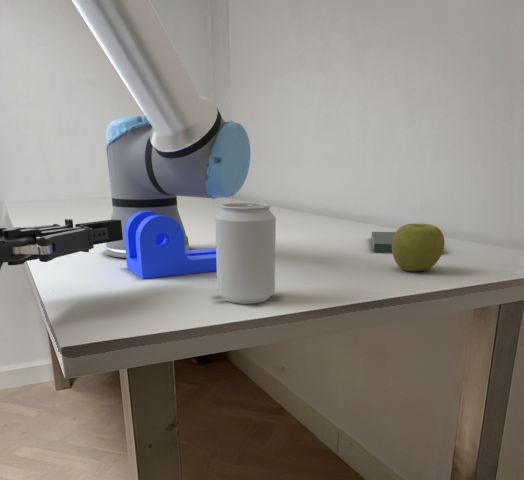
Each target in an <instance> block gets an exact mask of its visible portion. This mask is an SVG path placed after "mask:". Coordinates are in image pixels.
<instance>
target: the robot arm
mask: <svg viewBox="0 0 524 480" xmlns="http://www.w3.org/2000/svg"><path fill="white" fill-rule="evenodd" d="M71 1H72V3H73V5H74V6H75V8H76V10H77V11H78V12H79V14H80V16H81V17H82V19H83V20H84V23H86V25H87V27H88V28H89V29H90V31H91V33H92V35H93V37H94V38H95V39H96V41H97V42H98V44H99V46H100V47H101V49H102V50H103V52H104V53H105V55H106V57H107V58H108V59H109V61H110V63H111V65H112V66H113V68H114V69H115V71H116V73H117V74H118V75H119V78H120V79H121V80H122V82H123V84H124V85H125V86H126V88H127V89H128V91H129V93H130V94H131V96H132V97H133V99H134V101H135V102H136V104H137V106H138V107H139V109H140V110H141V112H142V113H143V115H136V116H127V117H123V118H119V119H115V120H113V121H111V122H110V123H109V124H108V125H107V127H106V134H105V135H106V146H105V149H106V157H107V159H106V160H107V167H108V177H109V186H110V194H111V195H110V196H111V205H112V213H111V217H110V219H106V220H105V219H104V220H98V221H90V222H82V223H75V225H74V221H73V219H71V218H66V219H64V225H61V224H58V223H53V224H47V225H37V226H36V225H34V226H27V227H26V226H25V227H21V226H16V227H14V226H13V227H7V228H6V227H0V270H1V269H2V266H3V264H4V263H7V266H19V265H23V264H25V263H26V262H29V261H34V260H35V261H36V260H39V262H40V263H48V262H50V261H53V260H55V259H56V258H60V257H64V256H69V255H72V254H77V253H90V250H92V249H94V248H95V247H94V246H95V245H100V244H101V245H102V244H105V252H106V255H108V256H111V257H113V258H120V259H126V248H125V236H124V229H125V225H126V222H127V221H128V219H129V218H130V217H131V216H132V215H133V214H135V213H137V212H139V211H151V212H154V213H157V214H159V215H164V216H167V217H170V218H172V219H174V220H175V221H177V222H178V223H179V225H180V226H181V228H182V230H183V233H184V240H185V251H187V250H190V242H189V237H188V235H187V234H186V230H185V227H184V224H183V221H182V218H181V215H180V213H179V209H178V197H190V198H204V199H212V200H215V199H224V198H226V199H227V198H231V197H233V196H235V195H236V194H238V192H240V190H241V189H242V187H243V186H244V184H245V183H246V180H247V178H248V174H249V170H250V166H251V165H250V164H251V163H250V162H251V144H250V143H251V142H250V138H249V135H248V133H247V129H246V128H245V127H244V126H243V125H242V124H241V123H240V122H235V120H229V121H225V120H224V118H223V116H222V115H221V112H220V110H219V109H218V107H217V104H216V103H215V102H214V101H213V100H212V99H211V98H209V97H206V96H200V93H199V91H198V90H197V87H196V85H195V84H194V82H193V80H192V78H191V76H190V74H189V72H188V70H187V68H186V67H185V65H184V63H183V61H182V59H181V57H180V55H179V53H178V51H177V48H176V47H175V45H174V44H173V42H172V40H171V38H170V36H169V34H168V31H167V30H166V28H165V26H164V25H163V24H164V23H162V21H161V19H160V17H159V15H158V13H157V11H156V9H155V8H154V7H155V6H154V5H153V3H152V1H151V0H71Z"/></svg>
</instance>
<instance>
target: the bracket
mask: <svg viewBox="0 0 524 480" xmlns="http://www.w3.org/2000/svg"><path fill="white" fill-rule="evenodd" d="M124 236H125V248H126V258H125V259H126V269H127V270H129V271H130V272H132V273H133V274H134V275H137V277H139V278H141V279H142V280H144V279H153V278H154V279H155V278H162V277H163V278H164V277H173V276H180V275H182V276H183V275H190V274H191V275H192V274H198V273H209V272H217V260H216V247H211V248H199V249H189V250H187V251H185V240H184V233H183V230H182V228H181V226H180V225H179V223H178V222H177V221H175V220H174V219H172V218H170V217H167V216H164V215H159V214H157V213H154V212H151V211H139V212H137V213H135V214H133V215H132V216H131V217H130V218H129V219H128V221H127V222H126V225H125V229H124Z"/></svg>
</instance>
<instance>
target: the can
mask: <svg viewBox="0 0 524 480" xmlns="http://www.w3.org/2000/svg"><path fill="white" fill-rule="evenodd" d="M219 207H220V208H221V210H220V211H219V213H217V215H216V216H215V219H214V221H215V248H216V260H217V271H216V290H217V291H216V292H217V293H218V295H219V296H220V297H222V298H223V299H224V301H226V302H229V303H233V304H241V305H242V304H243V305H248V304H252V305H253V304H259V303H263V302H266V301H268V300H269V299H270V298H271V297H272V296H273V295H274V294H275V292H276V228H277V226H276V224H277V223H276V222H277V218H276V216H275V214H274V213H273V212H272V211H271V210H270V208H271V207H272V205H271V204H269V203H263V202H228V203H223V204H220V206H219Z"/></svg>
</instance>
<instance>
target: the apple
mask: <svg viewBox="0 0 524 480" xmlns="http://www.w3.org/2000/svg"><path fill="white" fill-rule="evenodd" d="M395 232H396V233H395V234H394V237H393V240H392V257H393V259H394V261H395V263H396V264H397V266H398V267H399V268H400V269H401V270H403V271H406V272H423V271H426V270H430V269H431V268H433V267H434V266H435V265H436V264H437V263H438V262H439V260H440V259H441V257H442V255H443V252H444V249H445V235H444V233H443V231H442V230H441V228H439V227H438V226H436V225H433V224H430V223H407V224H404V225H402V226H400V227H399V228H398V229H397V230H395Z"/></svg>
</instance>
